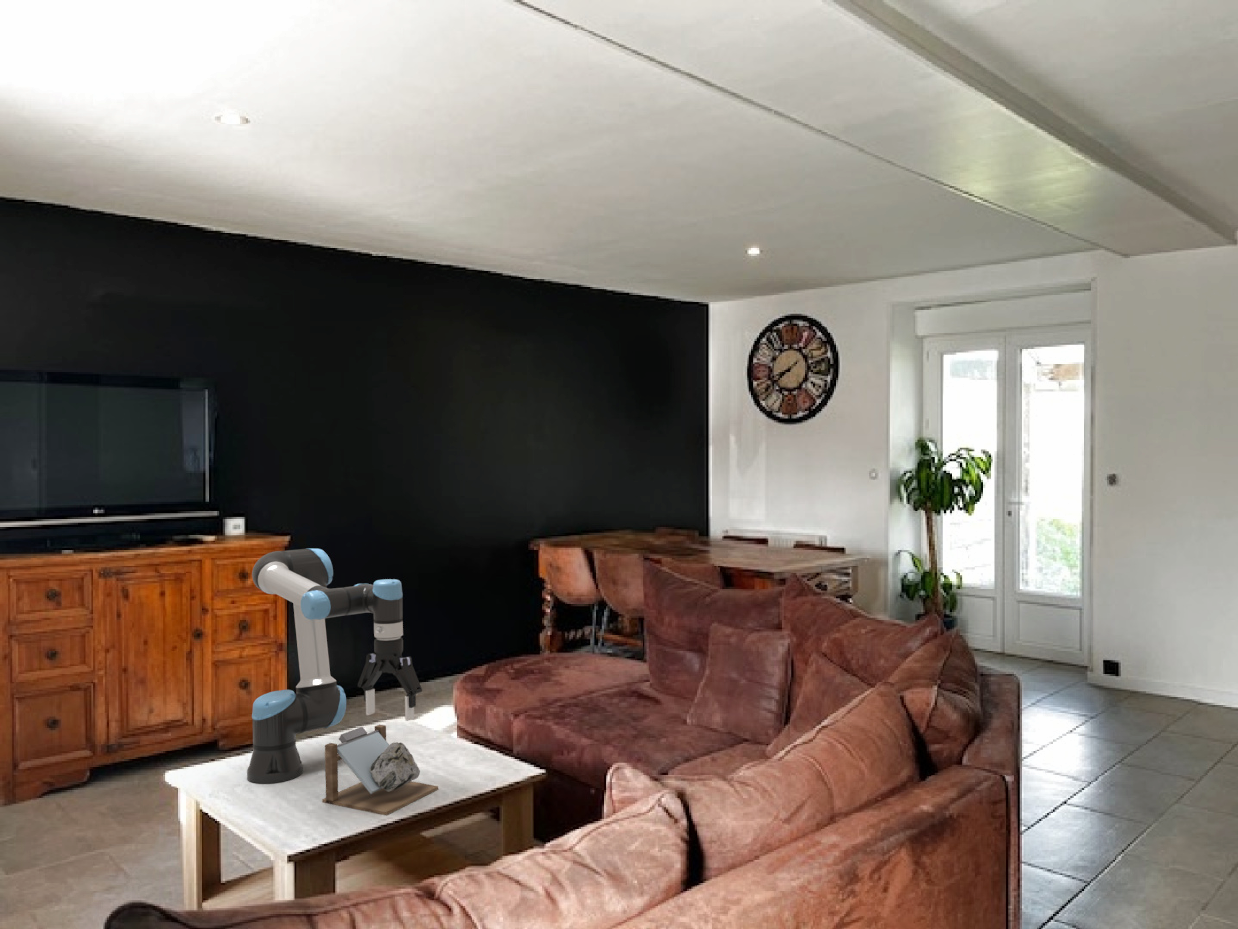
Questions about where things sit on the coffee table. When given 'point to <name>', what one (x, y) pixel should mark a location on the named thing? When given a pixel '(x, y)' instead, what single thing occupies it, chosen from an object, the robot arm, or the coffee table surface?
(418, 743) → the coffee table surface
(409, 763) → the rock
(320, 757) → the coffee table surface
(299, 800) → the coffee table surface
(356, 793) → the frame
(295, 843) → the coffee table surface
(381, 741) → the trapdoor
